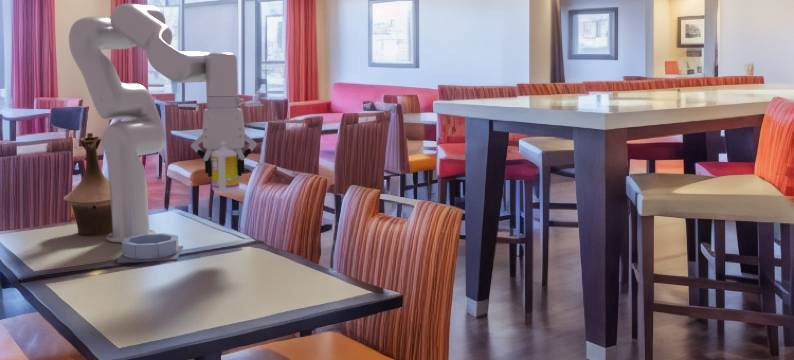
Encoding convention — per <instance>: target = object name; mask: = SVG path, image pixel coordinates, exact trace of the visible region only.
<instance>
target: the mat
mask: <svg viewBox="0 0 794 360" xmlns="http://www.w3.org/2000/svg"><path fill="white" fill-rule="evenodd" d="M183 249H184V246H183V245H179V247H178V253H177V254H175V255H172V256H169V257H165V258H159V259H148V260H136V259H128V258H125V257H124V255H123V254H121V255H120V256H119V258H117V260H116V264H123V263H124V264H127V263H129V264H130V263H146V262H168V261H169V262H170V261H178V259H179V257H180V255H181V253H182V251H181V250H183ZM180 252H181V253H180Z"/></svg>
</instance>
